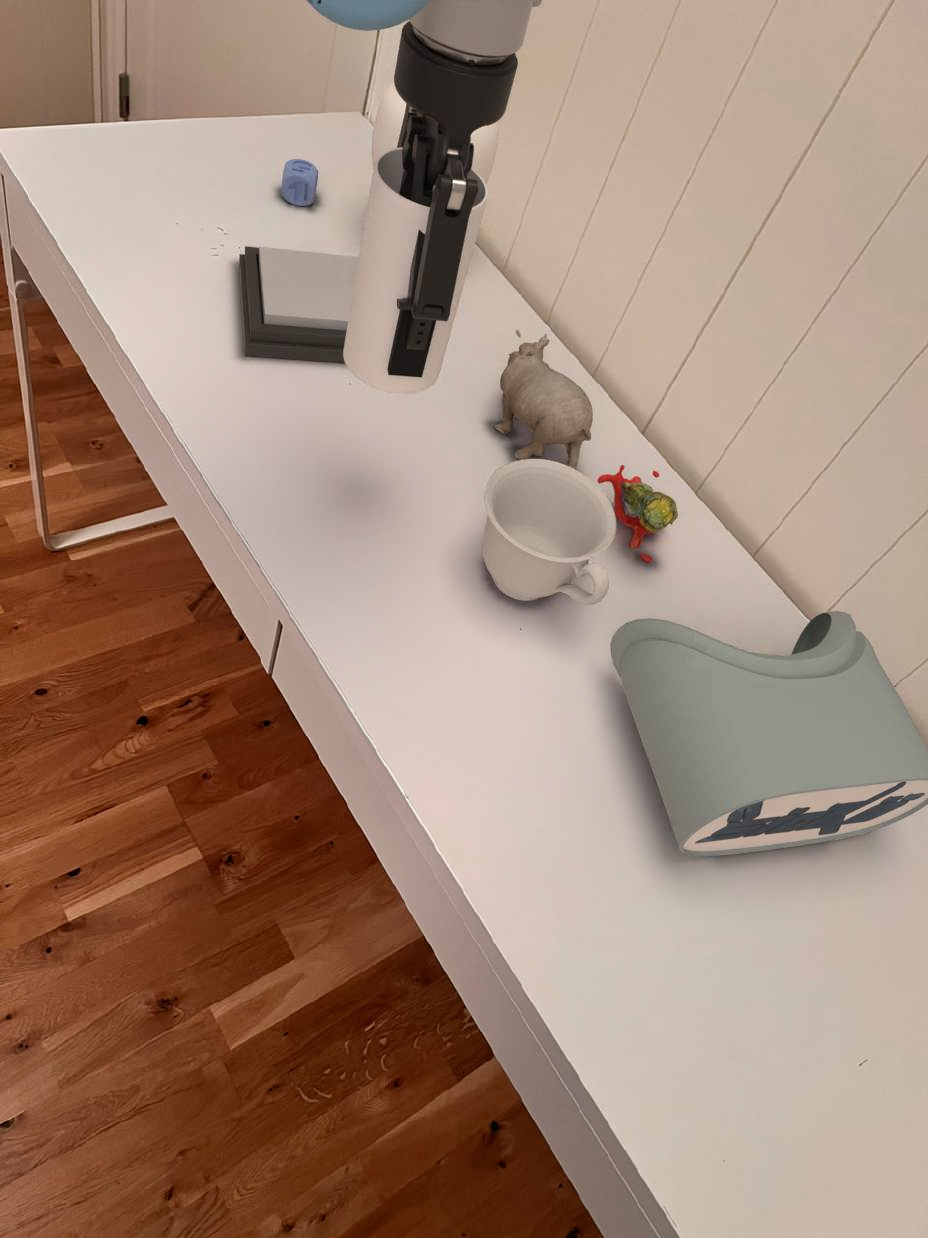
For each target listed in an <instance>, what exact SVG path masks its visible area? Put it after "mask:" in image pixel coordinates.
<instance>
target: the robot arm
mask: <svg viewBox="0 0 928 1238" xmlns="http://www.w3.org/2000/svg"><path fill="white" fill-rule="evenodd" d="M305 1H306V2H307V3H308V4H309V5H310V6H311V8H313V9H314V10H315V11H316V12H317V13H318V14H320V15H321V16H322V17H324V18H325V19H327V20H328V21H330V22H333V24H337V25H339V26H342V27H344V28H347V29H351V30H355V31H363V32H368V31H380V30H386V29H390V28H393V27H396V26H399V25H401V24H404V23H405V22H406V23H405V24H404V25H402V28H401V32H400V33H401V34H400V38H399V45H398V46H399V47H398V52H397V57H396V62H395V68H394V74H393V82H394V84H395V88H396V90H397V92H398V94H399V96H400V97H401V98H402V99H403V100H404V102H406V109H405V114H404V119H403V123H402V127H401V132H400V136H399V140H398V145H397V148H400V147H403V149H402V162H403V168H404V171H403V176H402V182H401V187H400V192H399V195H401V196H402V197H404V198H406V199H408V200H410V201H412V202H415V203H417V204H420V205H423V206H427V207H430V210H429V215H428V221H427V227H426V233H425V234H424V233H423V232H421V231H420V230H419V231H418V236H417V241H416V245H415V250H414V254H413V259H412V264H411V270H410V279H409V288H408V297H407V298H402V299H397V308H398V309H400V312H399V317H398V321H397V326H396V331H395V335H394V340H393V345H392V349H391V354H390V359H389V363H388V368H387V370H388V375H395V376H408V377H421V378H422V375H423V371H424V367H425V363H426V359H427V356H428V352H429V348H430V344H431V340H432V336H433V332H434V328H435V324H436V320H437V321H448V319H449V316H450V309H451V304H452V299H453V294H454V289H455V284H456V279H457V274H458V269H459V265H460V260H461V255H462V250H463V245H464V240H465V235H466V230H467V225H468V220H469V216H470V213H471V210H472V207H473V204H474V201H475V198H476V194H477V193H478V186H477V180H474V179H467V174H468V172H469V171H470V170H471V167H472V162H473V155H474V145H473V143H470V142H471V134H472V133H473V132H474V131H475V130H477V129H479V128H481V127H484V126H489V125H492V124H494V123H496V122H497V121H498V122H499V121H500V120H501V119H502V118H503V117H504V115H505V113H506V111H507V107H508V103H509V101H510V100H509V99H510V97H511V92H512V88H513V85H514V82H515V77H516V74H517V71H518V70H517V69H518V66H519V60H518V57H517V54H516V53H517V52H519V50H521V49H522V47H523V45H524V39H525V37H526V33H527V30H528V25H529V21H530V16H531V13H532V10H533V8H536V7H540V6H541V4H542V2H543V0H305ZM432 195H433V196H432Z"/></svg>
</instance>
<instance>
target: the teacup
mask: <svg viewBox="0 0 928 1238" xmlns="http://www.w3.org/2000/svg"><path fill="white" fill-rule="evenodd" d="M483 494H484V506H485V510H486V513H487V517H486V522H485V527H484V531H483V537H482V557H483V560H484V564H485V566H486V568H487V571H488V572H489V574H490V575H491V579H492V580H493V583H494V585H495V586H496V588H498V590H499V591H501V592H502V593H503V594H505V596H508V597H510V598H511V599H514V600H518V601H523V602H529V601H530V602H531V601H534V600H537V599H540V598H544V597H551V596H553V595H555V594H556V593H564V594H566V595H568V596H569V597H570V598H571V599H572V600H574V601H575V602H576V603H578V604H581V605H584V606H593V605H595V604H598V603H600V602H601V601H602V600H604V599H605V598H606V596H607V594H608V592H609V589H610V578H609V577H610V576H609V575H608V572H607V570H606V569H605V567H603V566H602V565H601V564H600V563H599V562H590V563H589V560H591V559H594V558H596V557H598V556H599V555H601V554H602V553H604V552H605V551H606V550H607V549H608V548H609V547H610V546H611V544H612V543H613V541H614V539H615V536H616V532H617V518H616V517H615V513H614V506H613V505H612V503H611V501H610V499H609V498H608V496H607V495H606V493H605V492H604V491H603V490H602V488H600V486H599V485H598V484H597V483H596V482H594V481H593V480H592V479H591V478H590V477H588V476H587V475H585V474H584V473H582V472H580V471H579V470H577V469H573V468H571V467H569V466H567V464H563V463H561V462H558V461H555V460H554V461H553V460H550V459H543V458H531V459H526V460H519V459H518V460H515V461H511V462H508V463H506V464H504V465H502V466H501V467H499V468H497V469H496V470H495V471H494V472H493V473H492V474H491V476H489V478H488V480H487V483H486V484H485V489H484V493H483ZM586 575H588V576H589V577H590V578H591V581H592V583H593V592H591V593H590V592H588V591H587V590H585V589H584V588H582V586H578V585H577V584H575V583H574V584H573V583H572V582H573V581H574V580H575V579H576V578H577V577H584V576H586Z"/></svg>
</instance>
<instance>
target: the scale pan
mask: <svg viewBox="0 0 928 1238" xmlns="http://www.w3.org/2000/svg"><path fill="white" fill-rule="evenodd" d="M258 248H259V270H260V282H261V294H262V306H263V318H264V324H271V325H284V326H296V327H308V328H321V329H333V330H345V331H347V326H348V320H349V314H350V308H351V302H352V296H353V290H354V284H355V278H356V272H357V266H358V260H359V256H352V255H342V254H333V253H326V252H325V253H324V252H314V251H305V250H296V249H285V248H276V247H267V246H259V247H258Z"/></svg>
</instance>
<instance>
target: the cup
mask: <svg viewBox="0 0 928 1238" xmlns="http://www.w3.org/2000/svg"><path fill="white" fill-rule="evenodd" d="M402 149H403V147H400V148H394V149H391V150H388V151H386V152H384V153H382V154H381V155H380V156H379V157H378V158H377V160H376V163H375V166H374V170H373V169H372V176H371V183H370V188H369V195H368V200H367V206H366V212H365V218H364V224H363V225H364V226H363V229H362V231H363V232H362V236H361V241H360V242H361V243H360V249H359V254H358V257H359V260H358V266H357V272H356V278H355V284H354V290H353V296H352V302H351V308H350V314H349V320H348V326H347V332H346V338H345V344H344V350H343V357H344V361H345V363H344V364H345V366H346V367H347V369H348V371H349V372H350V373H351V374H352V375H353V376H354V377H355V378H356V379H358V381H360V382H362V383H363V384H365V385H367V386H369V387H371V388H373V389H375V390H377V391H381V392H385V393H389V394H395V395H396V394H397V395H411V394H417V393H421V392H423V391H426V390H428V389H429V388H431V387H432V386H433V385H434V384H436V382H437V381H438V379H439V376H440V374H441V370H442V365H443V362H444V358H445V355H446V352H447V347H448V344H449V340H450V337H451V333H452V329H453V325H454V323H455V319H456V315H457V311H458V307H459V304H460V300H461V297H462V293H463V290H464V286H465V283H466V279H467V276H468V272H469V268H470V266H471V265H470V264H471V261H472V257H473V253H474V250H475V247H476V244H477V243H476V242H477V239H478V235H479V231H480V227H481V226H482V225H481V224H482V222H483V221H482V220H483V216H484V213H485V210H486V206H487V204H488V203H487V202H488V198H489V189H488V186H487V184H486V183H485V181H484V180H483V178H482V177H481V176H480V175H479V174H478V173H477V172H476V171H475V170H474V169H473V168H471V170H470V171H469V172H468V174H467V179H474V180H477V186H478V193H477V194H476V198H475V201H474V204H473V207H472V210H471V213H470V216H469V220H468V225H467V230H466V235H465V240H464V245H463V250H462V255H461V260H460V265H459V269H458V274H457V279H456V284H455V289H454V294H453V299H452V304H451V309H450V316H449V319H448V321H437V320H436V324H435V328H434V332H433V336H432V340H431V344H430V348H429V352H428V356H427V359H426V363H425V367H424V371H423V375H422V378H421V377H408V376H395V375H388V370H387V368H388V363H389V359H390V354H391V349H392V345H393V340H394V335H395V331H396V326H397V321H398V317H399V312H400V309H398V308H397V299H402V298H407V297H408V288H409V279H410V270H411V264H412V259H413V254H414V250H415V245H416V241H417V236H418V231H419V230H420V231H421V232H423V233H424V234H425V233H426V227H427V221H428V215H429V210H430V207H427V206H423V205H420V204H417V203H415V202H412V201H410V200H408V199H406V198H404V197H402V196H401V195H399V192H400V187H401V182H402V176H403V171H404V168H403V162H402ZM432 196H433V195H432Z"/></svg>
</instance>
